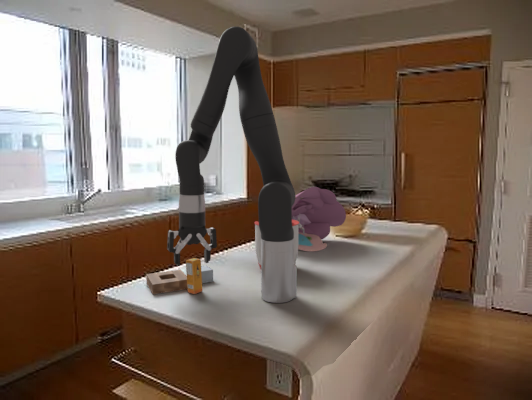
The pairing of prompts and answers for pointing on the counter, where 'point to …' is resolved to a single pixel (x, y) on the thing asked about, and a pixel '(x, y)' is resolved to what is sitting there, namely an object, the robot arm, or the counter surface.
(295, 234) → the citrus juicer
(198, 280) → the supplement box
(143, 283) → the counter surface
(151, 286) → the hole plate
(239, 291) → the counter surface
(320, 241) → the flower arrangement
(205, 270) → the wide block
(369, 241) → the counter surface
